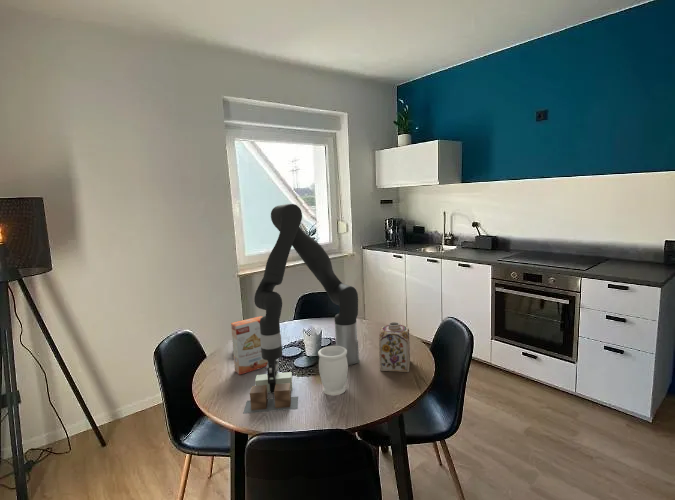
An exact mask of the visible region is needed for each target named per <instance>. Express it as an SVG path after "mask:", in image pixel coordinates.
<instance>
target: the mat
mask: <svg viewBox="0 0 675 500" xmlns="http://www.w3.org/2000/svg"><path fill="white" fill-rule="evenodd" d="M298 406H299V396H291V406H290V407H284V408H275V397H273V398H268V404H267V408H266V409H260V410H251V401H250V399H249V400H246V403H245V406H244V409H243V412H242V414H253V413H254V414H255V413H265V412H278V411H289V410H298V409H299V407H298Z"/></svg>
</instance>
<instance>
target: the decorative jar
mask: <svg viewBox="0 0 675 500" xmlns="http://www.w3.org/2000/svg"><path fill="white" fill-rule="evenodd" d="M378 341H379V344H378V346H379V348H378V349H379V352H378V353H379V371H381V372H394V373H395V372H398V373H409V372H410V367H411V366H410V363H411V350H410V349H411V347H410V343H411V342H410V328H409V327H407V326H406V325H403V324H400V322H398V321H391V322H389V323H388V324H386V325H385V324H384V326H381V327H380V330H379V337H378Z"/></svg>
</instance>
